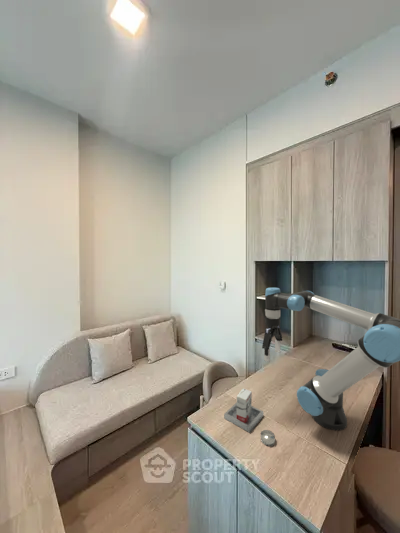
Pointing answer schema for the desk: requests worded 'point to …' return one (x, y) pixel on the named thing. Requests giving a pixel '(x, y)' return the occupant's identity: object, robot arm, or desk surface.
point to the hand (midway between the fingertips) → (272, 356)
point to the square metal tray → (251, 422)
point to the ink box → (244, 405)
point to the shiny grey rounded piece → (267, 438)
